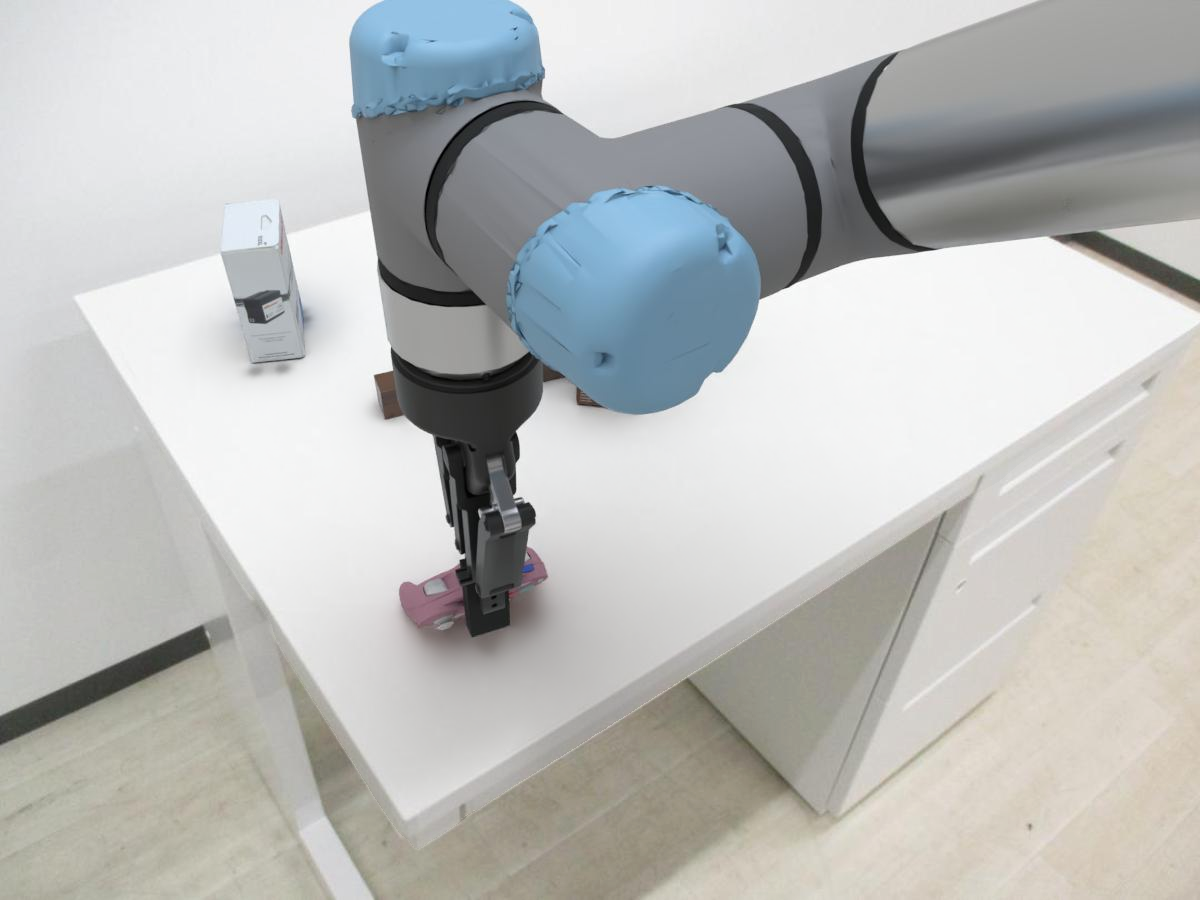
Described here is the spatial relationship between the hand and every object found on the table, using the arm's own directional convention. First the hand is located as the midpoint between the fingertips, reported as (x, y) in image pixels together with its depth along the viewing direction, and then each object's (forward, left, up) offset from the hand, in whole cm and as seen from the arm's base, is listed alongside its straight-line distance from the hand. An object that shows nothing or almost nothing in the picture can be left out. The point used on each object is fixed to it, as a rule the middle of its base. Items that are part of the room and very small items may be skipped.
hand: (488, 624), depth 63 cm
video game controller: (+4, 0, -3) cm, 4 cm away
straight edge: (+26, -15, -2) cm, 31 cm away
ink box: (+40, +8, -3) cm, 41 cm away
